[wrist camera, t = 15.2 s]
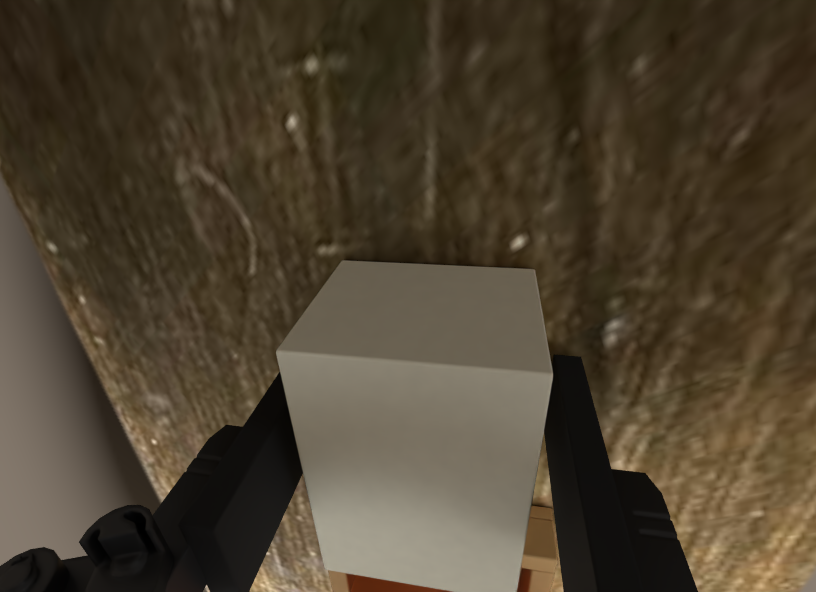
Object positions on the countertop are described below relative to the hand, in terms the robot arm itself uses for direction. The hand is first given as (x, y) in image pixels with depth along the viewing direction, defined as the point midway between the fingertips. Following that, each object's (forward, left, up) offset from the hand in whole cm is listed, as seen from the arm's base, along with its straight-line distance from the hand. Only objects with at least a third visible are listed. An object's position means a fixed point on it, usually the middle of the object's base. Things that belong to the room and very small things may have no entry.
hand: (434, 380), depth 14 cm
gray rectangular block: (0, 0, 0) cm, 0 cm away
